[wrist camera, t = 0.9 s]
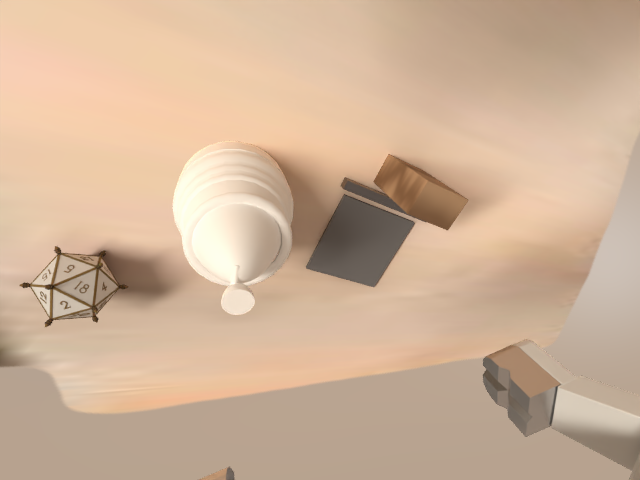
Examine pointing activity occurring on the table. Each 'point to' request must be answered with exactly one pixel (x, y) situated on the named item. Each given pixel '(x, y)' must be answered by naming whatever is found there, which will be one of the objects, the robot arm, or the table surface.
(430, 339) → the table surface
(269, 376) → the table surface
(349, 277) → the mat
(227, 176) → the honey pot
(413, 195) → the walnut block
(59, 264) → the twenty-sided die
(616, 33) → the table surface
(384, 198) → the rail
